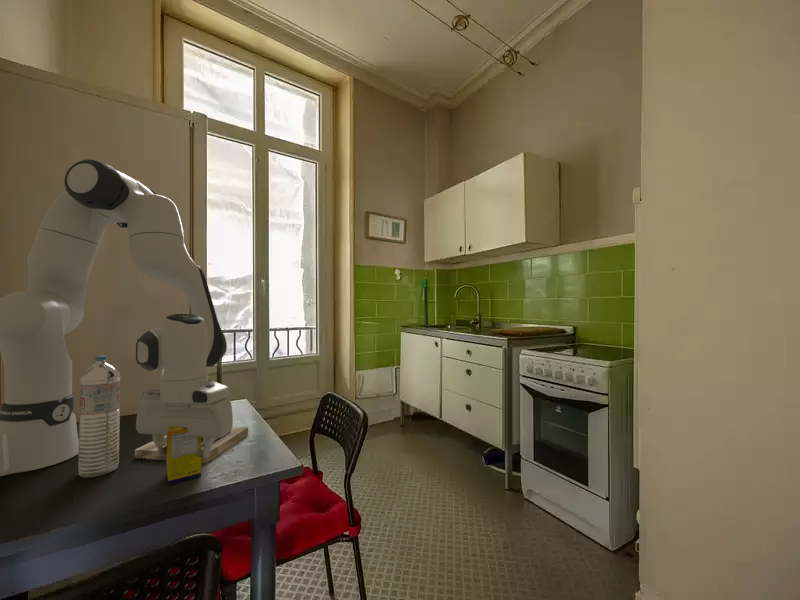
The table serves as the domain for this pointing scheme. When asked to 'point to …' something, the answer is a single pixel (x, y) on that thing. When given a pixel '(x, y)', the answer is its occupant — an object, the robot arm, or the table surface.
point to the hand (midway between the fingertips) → (183, 455)
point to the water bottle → (99, 419)
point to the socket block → (217, 447)
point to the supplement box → (182, 455)
